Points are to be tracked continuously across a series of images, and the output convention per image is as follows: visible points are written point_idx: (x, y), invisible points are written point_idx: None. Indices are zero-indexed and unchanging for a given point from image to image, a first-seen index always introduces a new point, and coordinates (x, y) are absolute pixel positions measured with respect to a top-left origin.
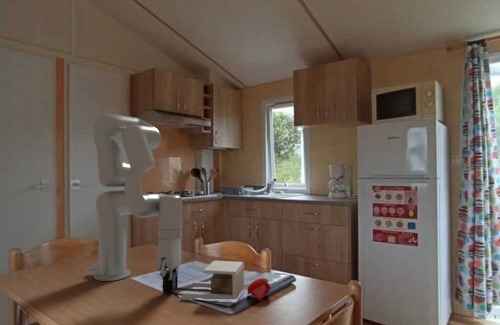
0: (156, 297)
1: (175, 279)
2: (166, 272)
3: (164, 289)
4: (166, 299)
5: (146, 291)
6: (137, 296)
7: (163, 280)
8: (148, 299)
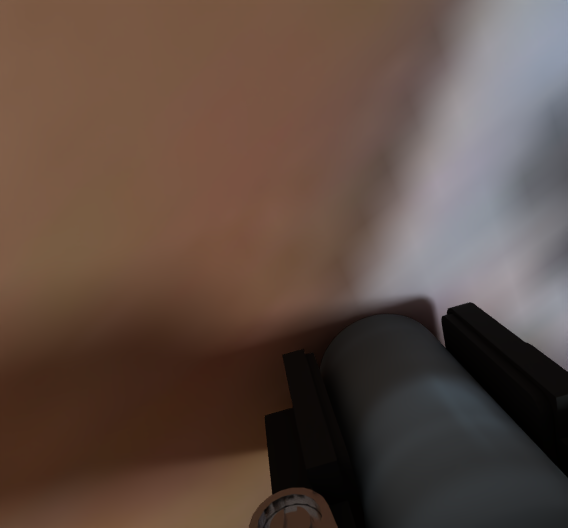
0: (156, 343)
1: None
2: (528, 516)
3: (265, 421)
4: (165, 476)
5: (274, 50)
6: (40, 75)
7: (310, 472)
8: (47, 303)
